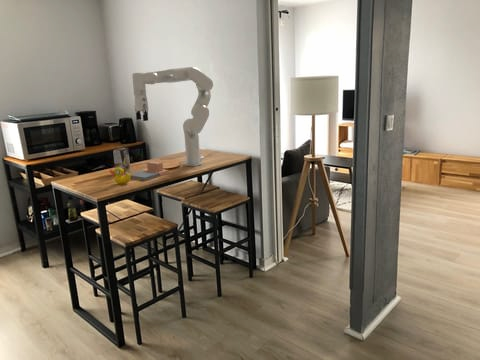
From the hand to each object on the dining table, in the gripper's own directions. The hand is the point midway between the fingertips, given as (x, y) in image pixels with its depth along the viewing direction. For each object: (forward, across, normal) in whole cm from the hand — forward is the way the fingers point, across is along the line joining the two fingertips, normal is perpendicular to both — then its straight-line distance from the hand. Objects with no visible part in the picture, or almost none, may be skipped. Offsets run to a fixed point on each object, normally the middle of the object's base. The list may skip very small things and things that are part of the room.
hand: (142, 120), depth 253 cm
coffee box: (+34, +6, +14) cm, 37 cm away
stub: (+33, -11, -1) cm, 35 cm away
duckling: (+34, -18, +25) cm, 46 cm away
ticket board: (+34, -14, +9) cm, 37 cm away
